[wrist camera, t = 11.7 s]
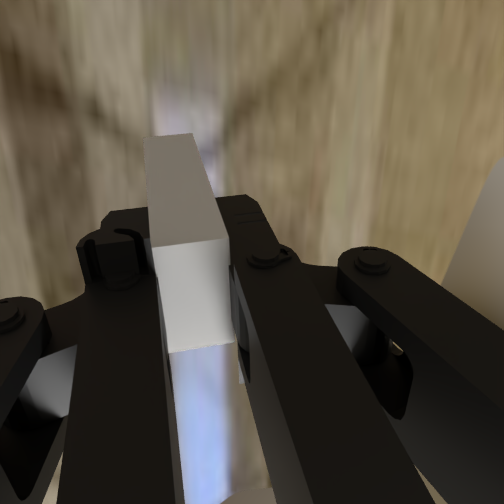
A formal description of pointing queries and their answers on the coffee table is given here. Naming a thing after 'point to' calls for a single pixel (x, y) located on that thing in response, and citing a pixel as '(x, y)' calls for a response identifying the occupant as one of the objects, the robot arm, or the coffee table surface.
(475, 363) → the robot arm
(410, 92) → the coffee table surface
